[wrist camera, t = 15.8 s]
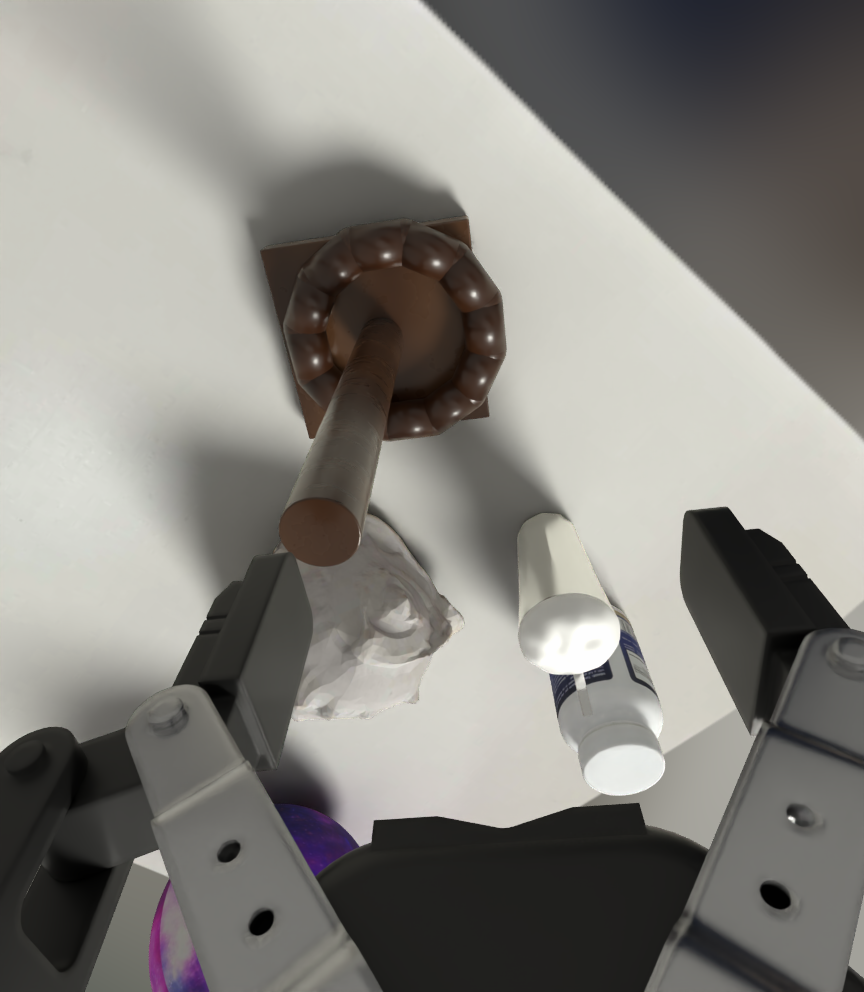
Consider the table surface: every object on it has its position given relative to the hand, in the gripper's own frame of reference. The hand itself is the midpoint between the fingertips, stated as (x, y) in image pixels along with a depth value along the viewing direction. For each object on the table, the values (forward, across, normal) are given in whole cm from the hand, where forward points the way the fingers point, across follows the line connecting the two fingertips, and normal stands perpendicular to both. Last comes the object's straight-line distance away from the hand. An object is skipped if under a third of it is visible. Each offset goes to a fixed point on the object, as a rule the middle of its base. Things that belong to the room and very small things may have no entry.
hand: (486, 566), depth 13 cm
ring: (+17, +3, 0) cm, 17 cm away
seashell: (+19, +9, +16) cm, 27 cm away
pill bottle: (+19, -5, +20) cm, 28 cm away
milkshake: (+19, -3, +13) cm, 23 cm away
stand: (+19, +4, 0) cm, 20 cm away
